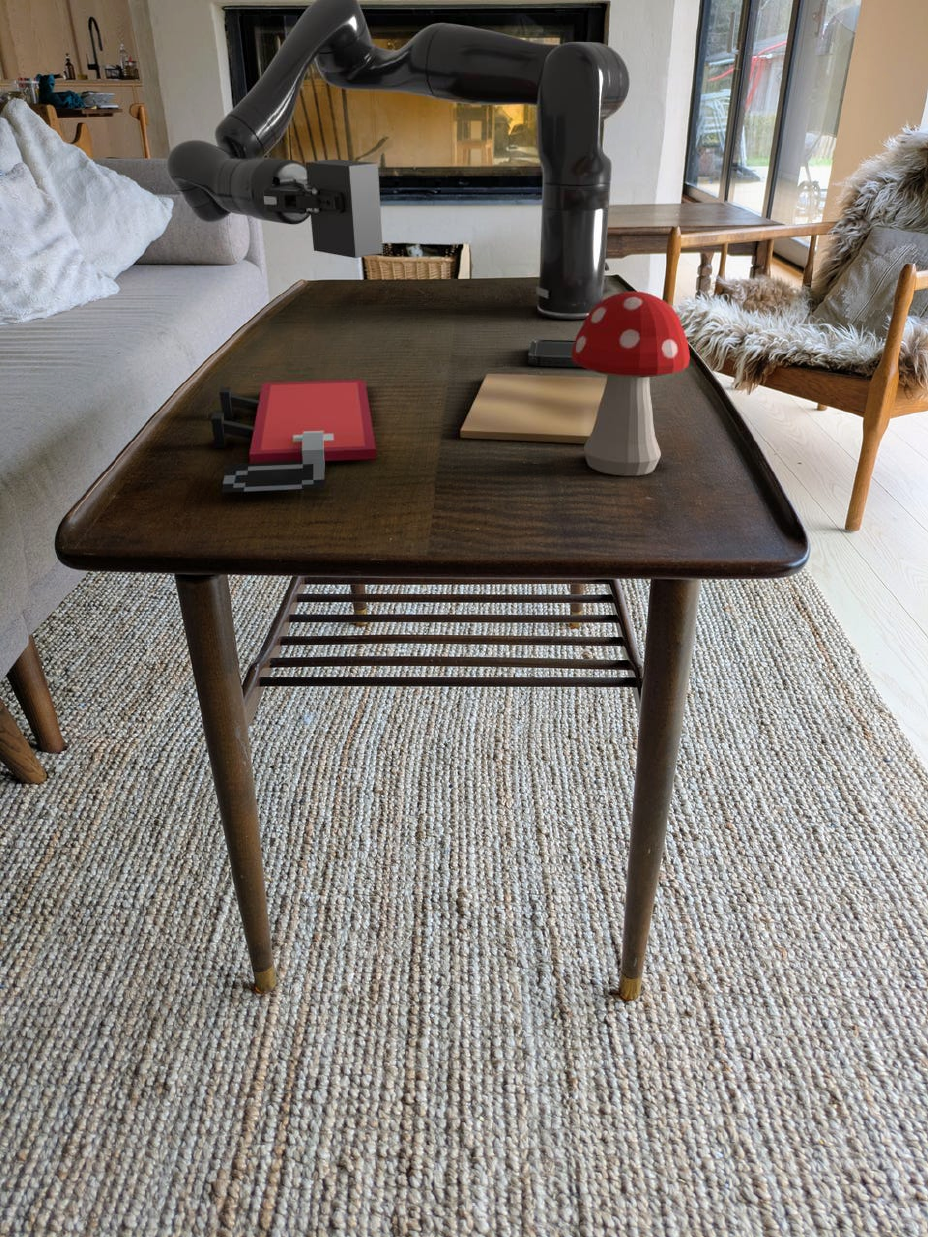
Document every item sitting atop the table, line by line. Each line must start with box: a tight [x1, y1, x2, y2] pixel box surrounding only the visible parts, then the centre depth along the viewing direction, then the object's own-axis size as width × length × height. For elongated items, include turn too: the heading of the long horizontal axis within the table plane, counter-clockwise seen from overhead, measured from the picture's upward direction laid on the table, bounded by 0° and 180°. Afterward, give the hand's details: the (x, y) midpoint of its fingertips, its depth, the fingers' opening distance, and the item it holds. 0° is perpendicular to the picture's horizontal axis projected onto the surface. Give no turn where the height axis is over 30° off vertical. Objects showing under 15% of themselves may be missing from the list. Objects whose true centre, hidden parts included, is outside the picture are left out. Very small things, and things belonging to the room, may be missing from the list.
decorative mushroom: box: [572, 290, 691, 476], centre depth 77 cm, size 10×9×15 cm
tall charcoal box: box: [305, 158, 384, 259], centre depth 110 cm, size 8×5×10 cm, turn 47°
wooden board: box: [459, 373, 607, 445], centre depth 94 cm, size 19×17×1 cm
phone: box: [527, 339, 583, 368], centre depth 110 cm, size 8×1×15 cm
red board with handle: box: [210, 379, 377, 493], centre depth 87 cm, size 30×3×15 cm
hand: (358, 200), depth 108 cm, fingers closed on tall charcoal box, 4 cm apart
